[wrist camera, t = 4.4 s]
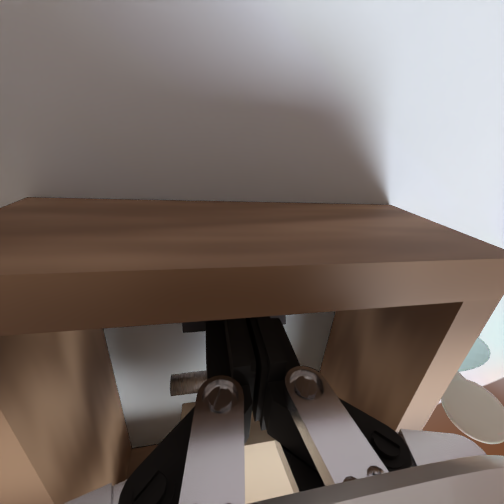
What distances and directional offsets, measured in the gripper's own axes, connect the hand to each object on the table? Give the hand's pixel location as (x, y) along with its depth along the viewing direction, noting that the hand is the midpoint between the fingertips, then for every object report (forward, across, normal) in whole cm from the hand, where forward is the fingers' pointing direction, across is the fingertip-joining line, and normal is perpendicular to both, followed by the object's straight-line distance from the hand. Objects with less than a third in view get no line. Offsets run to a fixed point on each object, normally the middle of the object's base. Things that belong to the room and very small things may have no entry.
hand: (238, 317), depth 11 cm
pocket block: (+2, 0, +5) cm, 5 cm away
